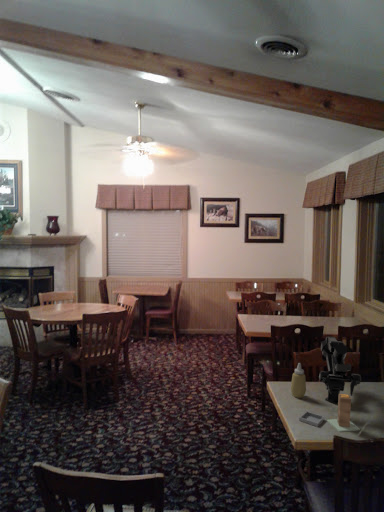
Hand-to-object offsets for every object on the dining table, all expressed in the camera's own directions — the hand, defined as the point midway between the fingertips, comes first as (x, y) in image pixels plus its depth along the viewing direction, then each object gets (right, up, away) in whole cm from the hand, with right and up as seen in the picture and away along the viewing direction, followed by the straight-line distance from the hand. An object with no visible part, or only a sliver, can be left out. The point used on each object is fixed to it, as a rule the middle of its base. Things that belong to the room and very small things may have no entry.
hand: (341, 394), depth 182 cm
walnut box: (-2, -11, -8) cm, 13 cm away
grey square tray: (-15, -11, -4) cm, 19 cm away
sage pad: (-2, -12, -7) cm, 14 cm away
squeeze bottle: (-14, -10, +24) cm, 29 cm away
